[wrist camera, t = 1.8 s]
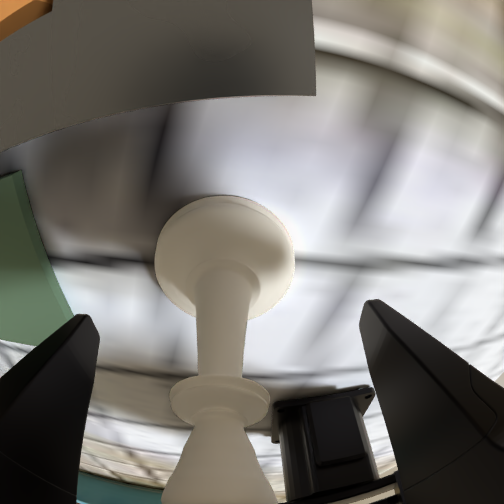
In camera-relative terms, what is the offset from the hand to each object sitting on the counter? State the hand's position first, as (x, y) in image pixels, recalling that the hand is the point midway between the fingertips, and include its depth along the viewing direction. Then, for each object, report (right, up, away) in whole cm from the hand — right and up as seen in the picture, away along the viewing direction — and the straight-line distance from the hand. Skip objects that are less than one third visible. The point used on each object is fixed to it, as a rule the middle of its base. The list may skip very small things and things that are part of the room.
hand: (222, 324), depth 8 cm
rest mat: (-12, +1, +2) cm, 12 cm away
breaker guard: (-7, +11, -3) cm, 13 cm away
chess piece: (0, +2, +3) cm, 3 cm away
